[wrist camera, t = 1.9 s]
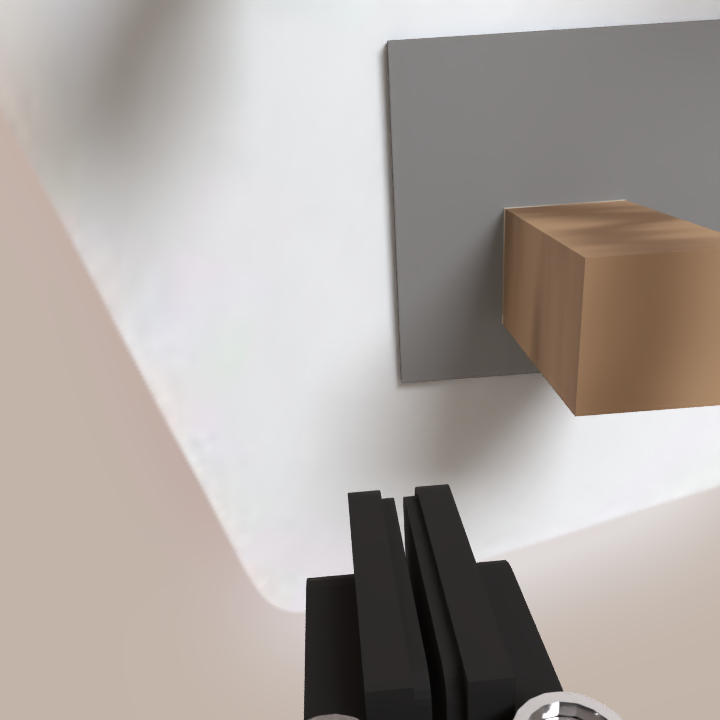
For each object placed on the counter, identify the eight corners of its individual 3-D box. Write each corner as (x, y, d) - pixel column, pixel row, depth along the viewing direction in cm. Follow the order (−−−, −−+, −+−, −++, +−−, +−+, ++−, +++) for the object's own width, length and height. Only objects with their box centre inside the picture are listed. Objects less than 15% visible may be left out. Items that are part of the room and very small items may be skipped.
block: (624, 199, 28) (759, 245, 19) (614, 314, 29) (733, 404, 21) (504, 207, 27) (585, 258, 19) (501, 323, 29) (575, 416, 21)
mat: (902, 8, 26) (910, 7, 25) (830, 347, 31) (836, 350, 31) (387, 41, 25) (388, 40, 25) (401, 379, 30) (402, 383, 30)
